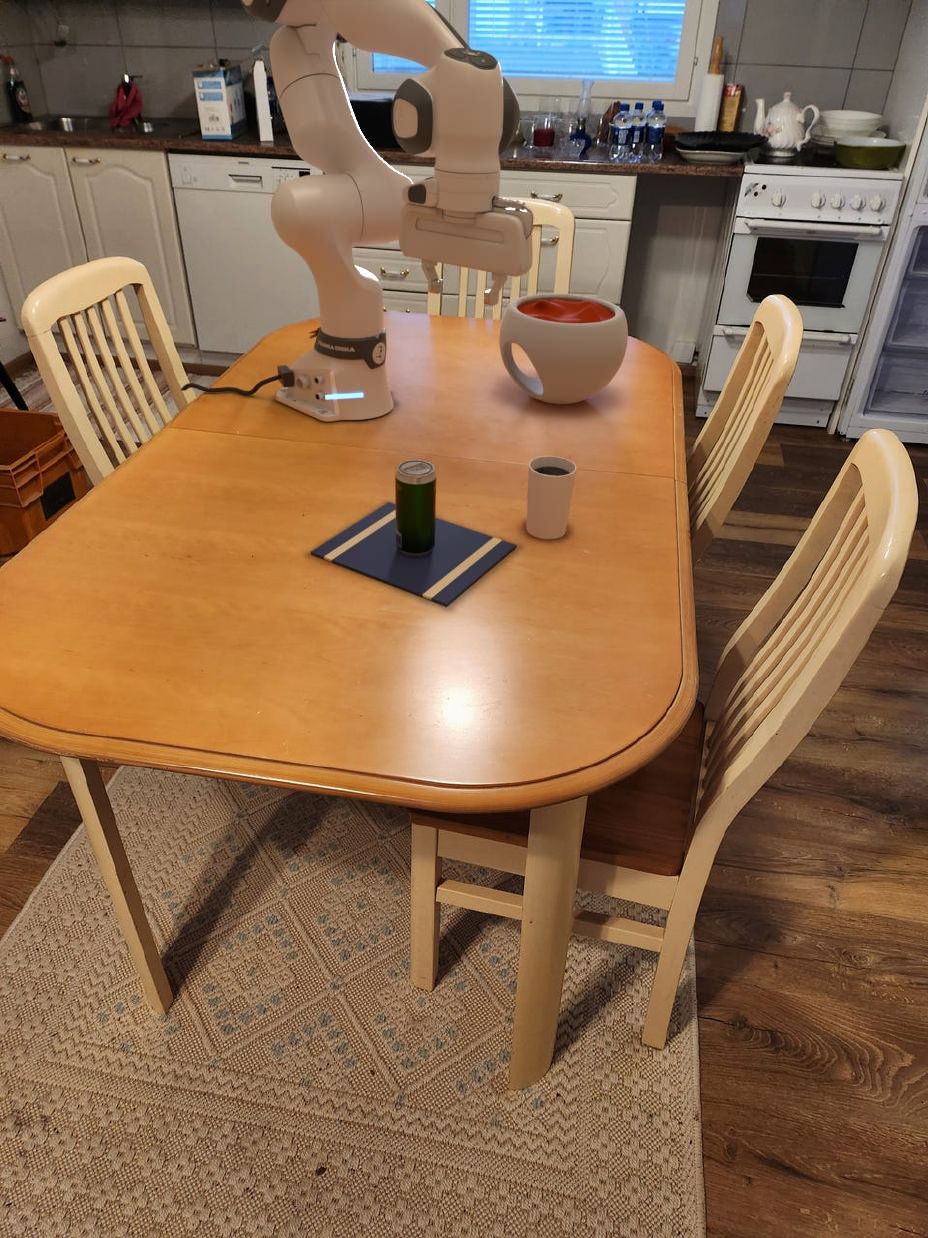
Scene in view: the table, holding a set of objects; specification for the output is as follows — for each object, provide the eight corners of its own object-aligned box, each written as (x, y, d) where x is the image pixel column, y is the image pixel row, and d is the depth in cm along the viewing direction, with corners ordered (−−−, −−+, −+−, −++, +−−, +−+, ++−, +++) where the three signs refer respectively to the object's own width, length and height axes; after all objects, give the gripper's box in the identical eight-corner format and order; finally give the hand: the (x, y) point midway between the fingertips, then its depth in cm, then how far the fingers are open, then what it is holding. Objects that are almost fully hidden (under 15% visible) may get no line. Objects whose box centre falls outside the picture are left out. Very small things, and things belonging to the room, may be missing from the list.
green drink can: (408, 562, 116) (408, 480, 109) (388, 544, 120) (387, 464, 113) (442, 551, 118) (444, 471, 112) (422, 534, 122) (422, 455, 115)
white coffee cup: (538, 544, 122) (544, 479, 116) (514, 523, 127) (519, 460, 121) (577, 535, 124) (586, 471, 119) (553, 514, 129) (559, 452, 124)
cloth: (310, 554, 117) (310, 551, 117) (388, 504, 130) (388, 501, 130) (446, 606, 108) (446, 603, 108) (516, 547, 121) (516, 544, 121)
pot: (616, 425, 158) (631, 327, 148) (487, 412, 161) (492, 314, 151) (620, 381, 178) (633, 291, 168) (504, 370, 181) (510, 281, 171)
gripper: (545, 199, 115) (536, 306, 123) (418, 181, 123) (417, 282, 131) (522, 205, 111) (515, 316, 118) (392, 186, 119) (393, 290, 127)
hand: (462, 298), depth 125 cm, fingers open, 8 cm apart
